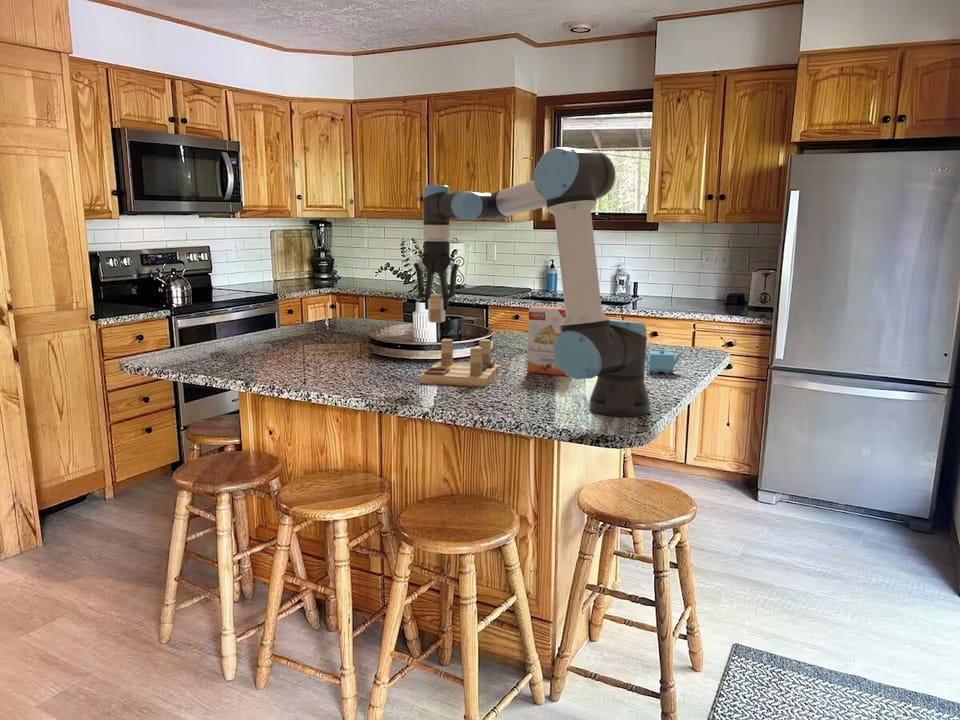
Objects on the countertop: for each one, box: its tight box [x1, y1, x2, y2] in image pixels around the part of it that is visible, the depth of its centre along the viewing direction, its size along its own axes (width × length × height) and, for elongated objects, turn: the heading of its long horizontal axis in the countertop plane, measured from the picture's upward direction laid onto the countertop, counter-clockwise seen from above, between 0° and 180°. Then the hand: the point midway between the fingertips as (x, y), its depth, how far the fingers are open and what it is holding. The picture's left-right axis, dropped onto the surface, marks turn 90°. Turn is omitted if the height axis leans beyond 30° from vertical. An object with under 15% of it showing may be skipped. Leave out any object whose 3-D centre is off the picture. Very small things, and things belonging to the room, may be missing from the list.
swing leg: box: [478, 338, 492, 370], centre depth 218 cm, size 11×3×8 cm, turn 167°
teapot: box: [645, 348, 685, 375], centre depth 227 cm, size 12×6×8 cm, turn 80°
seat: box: [419, 338, 500, 388], centre depth 218 cm, size 20×20×10 cm
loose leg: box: [429, 293, 443, 324], centre depth 210 cm, size 3×3×8 cm
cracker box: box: [526, 305, 568, 377], centre depth 224 cm, size 14×6×21 cm, turn 68°
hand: (436, 320), depth 211 cm, fingers closed on loose leg, 3 cm apart
